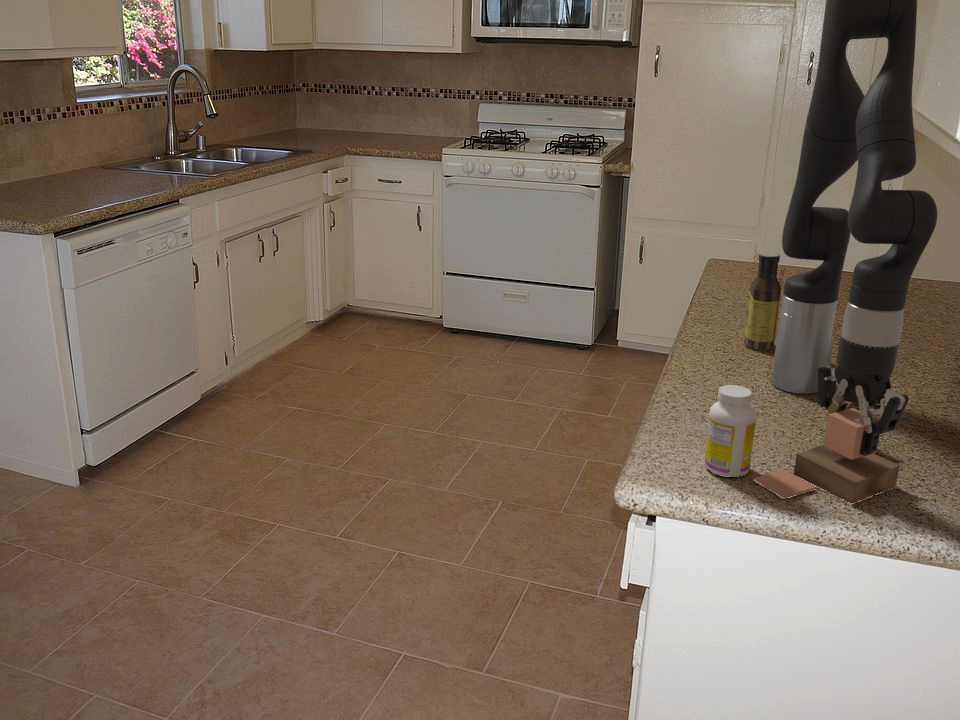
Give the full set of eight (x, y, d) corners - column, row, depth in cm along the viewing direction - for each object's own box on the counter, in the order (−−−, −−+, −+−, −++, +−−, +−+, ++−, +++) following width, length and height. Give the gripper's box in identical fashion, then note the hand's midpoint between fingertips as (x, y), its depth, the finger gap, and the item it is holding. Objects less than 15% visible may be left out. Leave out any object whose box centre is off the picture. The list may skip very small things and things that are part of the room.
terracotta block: (847, 438, 130) (852, 407, 128) (875, 452, 125) (881, 420, 124) (823, 445, 127) (828, 414, 126) (851, 459, 123) (857, 427, 121)
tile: (783, 472, 131) (783, 469, 130) (814, 490, 126) (815, 486, 125) (753, 481, 128) (753, 477, 128) (784, 500, 123) (784, 496, 123)
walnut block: (836, 462, 135) (840, 438, 133) (894, 489, 127) (899, 465, 126) (792, 477, 130) (796, 454, 129) (850, 507, 122) (855, 482, 121)
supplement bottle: (741, 458, 135) (751, 382, 130) (755, 479, 129) (766, 399, 124) (698, 459, 135) (706, 382, 130) (710, 480, 128) (719, 400, 124)
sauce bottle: (754, 339, 186) (766, 248, 179) (780, 347, 182) (793, 254, 175) (736, 345, 183) (748, 252, 175) (762, 353, 178) (775, 258, 171)
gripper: (934, 347, 116) (910, 461, 122) (847, 317, 128) (829, 422, 134) (896, 356, 113) (873, 473, 119) (810, 324, 124) (793, 431, 131)
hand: (850, 445), depth 126 cm, fingers closed on terracotta block, 5 cm apart
